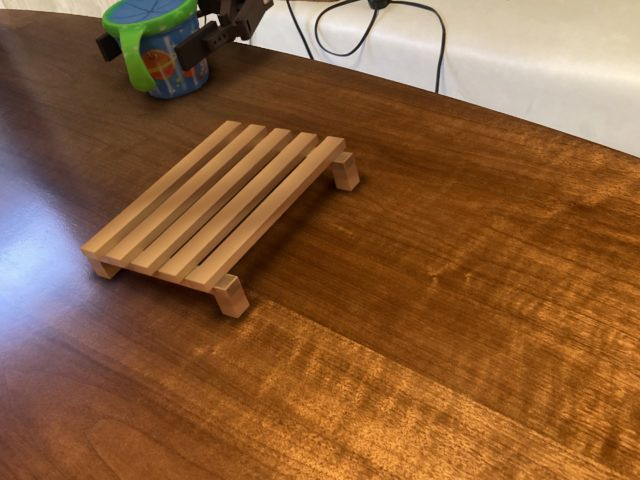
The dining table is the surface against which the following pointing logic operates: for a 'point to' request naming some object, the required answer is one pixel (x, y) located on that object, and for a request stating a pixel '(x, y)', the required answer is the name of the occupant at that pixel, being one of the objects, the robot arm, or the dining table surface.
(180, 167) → the rack
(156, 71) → the snack cup
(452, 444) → the dining table surface
